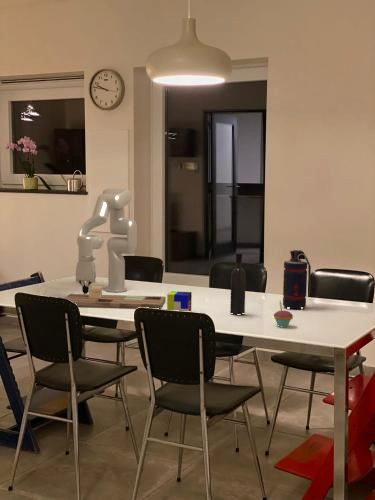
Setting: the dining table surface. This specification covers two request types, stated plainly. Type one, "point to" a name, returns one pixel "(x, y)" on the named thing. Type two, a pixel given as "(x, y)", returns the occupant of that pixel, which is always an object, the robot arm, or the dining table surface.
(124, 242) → the robot arm
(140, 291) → the dining table surface
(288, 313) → the cupcake
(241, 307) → the wine bottle
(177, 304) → the puzzle toy
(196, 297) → the dining table surface
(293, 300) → the grenade
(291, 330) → the dining table surface
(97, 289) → the maple block
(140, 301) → the trap deck
